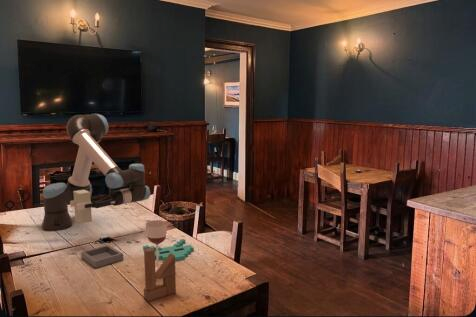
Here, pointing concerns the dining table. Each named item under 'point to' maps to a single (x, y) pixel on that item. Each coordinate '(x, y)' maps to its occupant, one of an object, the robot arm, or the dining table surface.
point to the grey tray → (102, 256)
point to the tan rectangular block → (84, 214)
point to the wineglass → (156, 234)
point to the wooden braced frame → (158, 276)
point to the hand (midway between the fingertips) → (73, 205)
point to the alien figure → (173, 251)
